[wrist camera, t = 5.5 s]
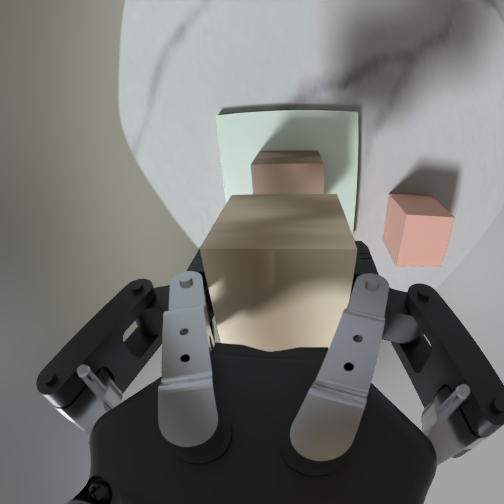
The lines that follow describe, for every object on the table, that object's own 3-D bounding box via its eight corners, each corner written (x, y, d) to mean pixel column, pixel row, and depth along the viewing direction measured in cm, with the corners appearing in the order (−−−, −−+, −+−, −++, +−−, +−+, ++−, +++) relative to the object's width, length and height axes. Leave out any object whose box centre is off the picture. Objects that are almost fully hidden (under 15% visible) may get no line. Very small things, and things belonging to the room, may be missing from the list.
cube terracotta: (431, 196, 22) (454, 217, 18) (423, 239, 25) (441, 266, 21) (388, 192, 23) (406, 214, 19) (382, 238, 26) (395, 266, 22)
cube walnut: (318, 150, 22) (323, 163, 17) (318, 204, 24) (322, 229, 20) (259, 151, 22) (250, 164, 18) (263, 204, 25) (256, 229, 21)
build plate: (356, 111, 20) (358, 112, 19) (351, 234, 26) (352, 238, 25) (217, 115, 22) (215, 115, 21) (232, 234, 28) (230, 238, 27)
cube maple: (336, 194, 12) (357, 249, 8) (330, 280, 15) (338, 351, 11) (231, 195, 13) (199, 248, 9) (241, 278, 16) (222, 347, 11)
